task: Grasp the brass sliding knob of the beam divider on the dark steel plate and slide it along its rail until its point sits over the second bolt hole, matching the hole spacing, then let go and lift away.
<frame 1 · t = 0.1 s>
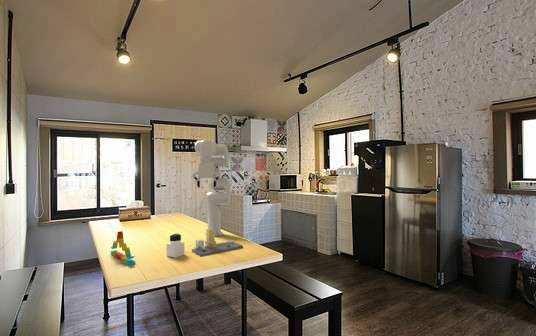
hand: (206, 187, 190), 37 cm above the table, tool pointing down, fingers open, 9 cm apart
multicolored stepped triangle frame: (122, 259, 166), on the table
medicine bottle: (175, 255, 172), on the table
bolt plate: (217, 249, 182), on the table
brass slider: (212, 238, 181), point 7 cm above the table, slide at -3.0 cm
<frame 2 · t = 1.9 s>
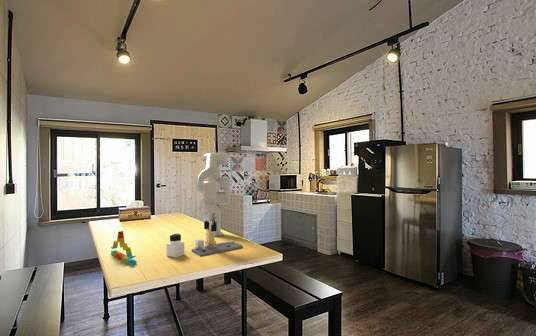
hand: (210, 230, 182), 12 cm above the table, tool pointing down, fingers open, 9 cm apart
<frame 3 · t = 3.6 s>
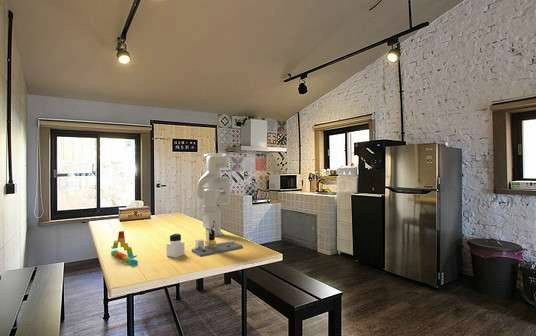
hand: (210, 239, 183), 6 cm above the table, tool pointing down, fingers closed on brass slider, 3 cm apart
brass slider: (212, 238, 181), point 7 cm above the table, slide at -3.0 cm, touching gripper
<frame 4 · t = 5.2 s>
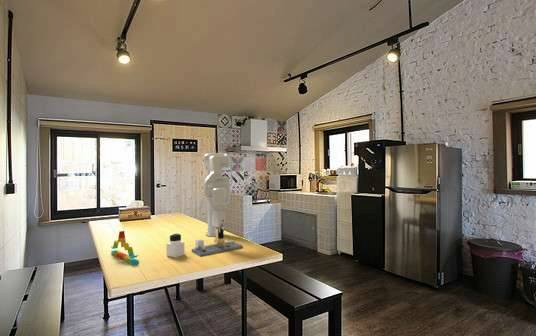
hand: (219, 237, 187), 6 cm above the table, tool pointing down, fingers closed on brass slider, 3 cm apart
brass slider: (220, 236, 185), point 7 cm above the table, slide at 3.0 cm, touching gripper
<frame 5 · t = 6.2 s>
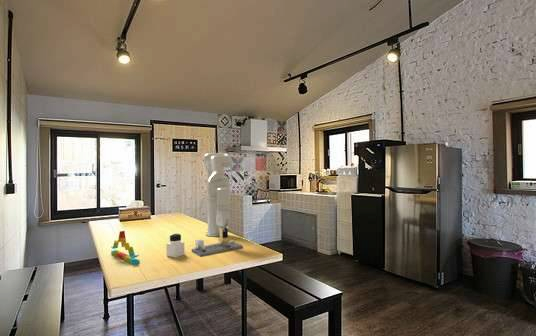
hand: (223, 236, 188), 6 cm above the table, tool pointing down, fingers closed on brass slider, 3 cm apart
brass slider: (225, 236, 187), point 7 cm above the table, slide at 6.0 cm, touching gripper
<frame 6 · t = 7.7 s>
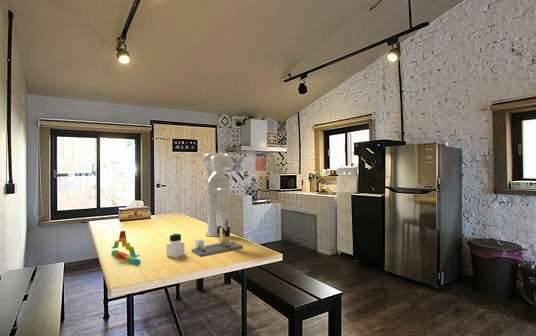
hand: (223, 235, 188), 7 cm above the table, tool pointing down, fingers open, 9 cm apart
brass slider: (225, 236, 187), point 7 cm above the table, slide at 6.0 cm
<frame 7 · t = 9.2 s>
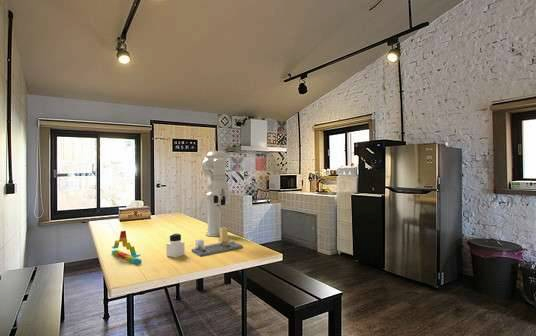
hand: (219, 204, 197), 26 cm above the table, tool pointing down, fingers open, 9 cm apart
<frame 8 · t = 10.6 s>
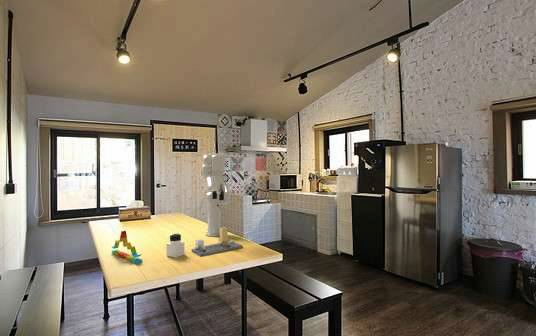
hand: (218, 199, 200), 28 cm above the table, tool pointing down, fingers open, 9 cm apart
at the end: brass slider slide at 6.0 cm; the gripper is holding nothing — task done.
